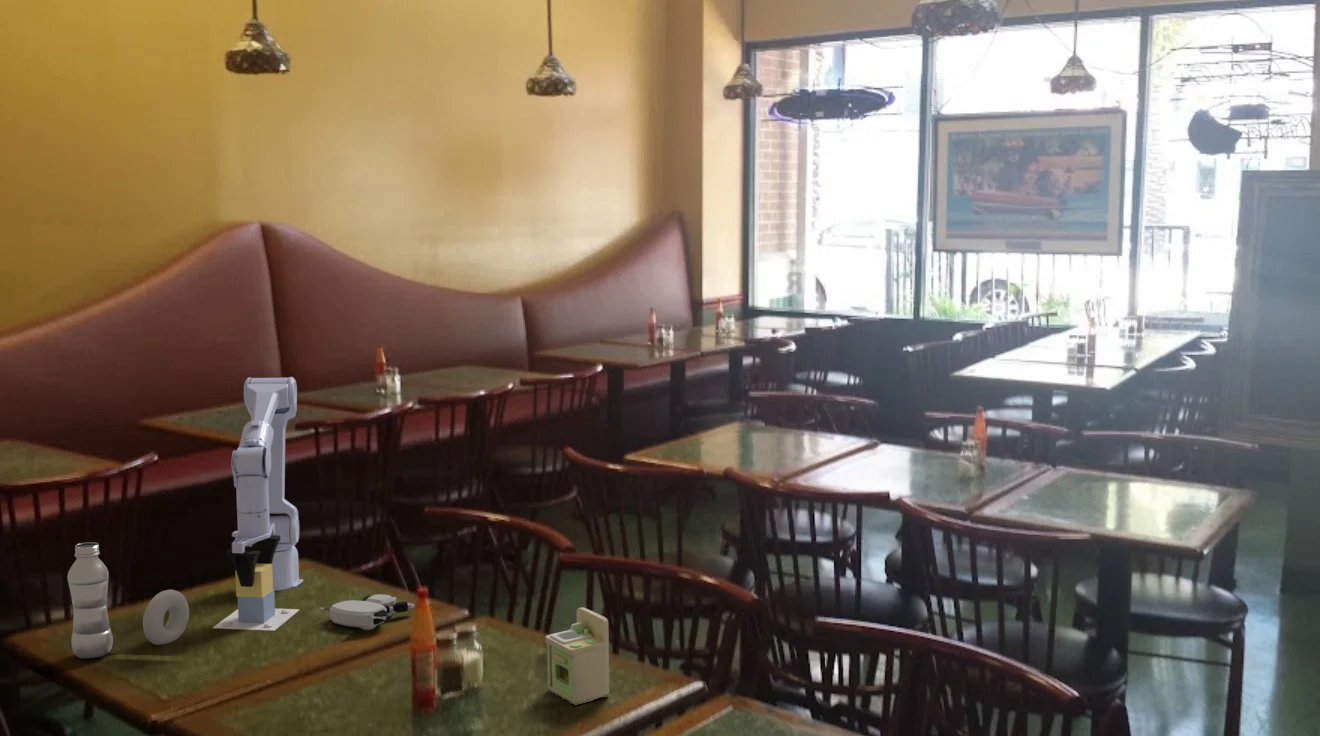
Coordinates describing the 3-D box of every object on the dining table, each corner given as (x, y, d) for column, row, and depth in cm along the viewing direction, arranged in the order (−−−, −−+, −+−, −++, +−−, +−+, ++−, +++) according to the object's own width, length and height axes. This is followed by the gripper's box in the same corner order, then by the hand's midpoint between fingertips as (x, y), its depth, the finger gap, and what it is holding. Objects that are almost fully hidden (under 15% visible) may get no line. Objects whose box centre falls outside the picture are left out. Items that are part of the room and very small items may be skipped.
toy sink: (543, 691, 194) (543, 613, 193) (580, 680, 199) (580, 605, 197) (571, 708, 188) (571, 628, 186) (610, 697, 192) (610, 619, 190)
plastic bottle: (97, 664, 204) (91, 551, 202) (63, 661, 206) (56, 548, 203) (121, 651, 210) (116, 541, 208) (88, 648, 212) (82, 539, 209)
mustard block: (247, 588, 228) (246, 563, 227) (272, 589, 227) (272, 564, 227) (236, 596, 223) (235, 570, 222) (261, 597, 223) (261, 571, 222)
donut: (155, 655, 209) (152, 600, 208) (139, 652, 210) (136, 597, 209) (194, 636, 218) (192, 583, 217) (179, 634, 219) (177, 581, 218)
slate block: (250, 613, 228) (249, 588, 228) (275, 614, 228) (274, 589, 227) (238, 622, 224) (237, 596, 223) (264, 623, 223) (263, 597, 222)
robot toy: (367, 610, 236) (317, 628, 223) (367, 588, 236) (317, 604, 222) (418, 619, 231) (370, 638, 218) (419, 596, 231) (371, 613, 217)
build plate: (240, 611, 232) (240, 605, 232) (300, 613, 231) (299, 607, 231) (212, 632, 221) (212, 626, 220) (274, 634, 219) (274, 628, 219)
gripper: (249, 500, 231) (251, 568, 232) (214, 518, 216) (217, 591, 218) (284, 501, 230) (286, 569, 232) (252, 520, 216) (254, 592, 217)
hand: (255, 580), depth 225 cm, fingers open, 7 cm apart
